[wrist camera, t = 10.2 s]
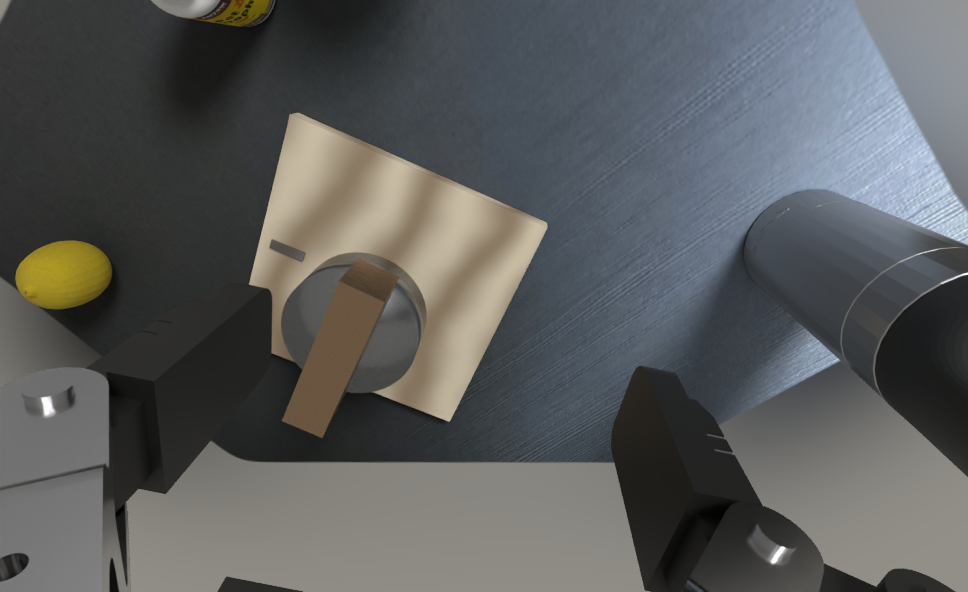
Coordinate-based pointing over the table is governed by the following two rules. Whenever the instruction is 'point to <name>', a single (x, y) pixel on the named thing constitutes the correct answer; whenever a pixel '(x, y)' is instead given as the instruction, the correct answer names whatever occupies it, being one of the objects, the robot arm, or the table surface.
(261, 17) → the supplement bottle
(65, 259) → the lemon
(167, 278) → the table surface
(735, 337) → the table surface
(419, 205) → the mounting board
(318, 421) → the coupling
